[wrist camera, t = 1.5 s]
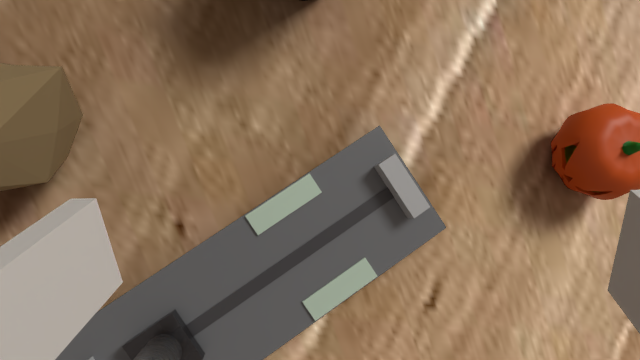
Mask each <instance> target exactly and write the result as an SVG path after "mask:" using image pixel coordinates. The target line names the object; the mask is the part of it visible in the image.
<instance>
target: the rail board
mask: <svg viewBox="0 0 640 360" xmlns="http://www.w3.org/2000/svg"><path fill="white" fill-rule="evenodd" d="M445 228H446V226H445V225H444V223H443V222H442V220H441V218H440V217H439V215H438V214H437V212H436V211H435V209H434V208H433V206H432V205H431V203H430V202H429V200H428V199H427V197H426V196H425V194H424V193H423V191H422V189H421V188H420V186H419V185H418V183H417V182H416V180H415V179H414V177H413V176H412V174H411V173H410V171H409V170H408V168H407V167H406V165H405V164H404V162H403V161H402V159H401V157H400V156H399V154H398V153H397V151H396V150H395V148H394V147H393V145H392V144H391V142H390V141H389V139H388V138H387V136H386V135H385V133H384V132H383V130H382V128H381V127H380V126H378V127H377V128H375V129H374V130H372V131H371V132H369V133H368V134H366V135H365V136H363V137H362V138H360V139H359V140H357V141H355V142H354V143H352V144H351V145H349V146H348V147H346V148H345V149H343V150H342V151H340V152H339V153H337V154H336V155H334V156H333V157H331V158H330V159H328V160H327V161H325V162H324V163H322V164H321V165H319V166H318V167H316V168H315V169H313V170H312V171H310V172H309V173H307V174H306V175H304V176H302V177H301V178H299V179H298V180H296V181H295V182H293V183H292V184H290V185H289V186H287V187H286V188H284V189H283V190H281V191H280V192H278V193H277V194H275V195H274V196H272V197H271V198H269V199H268V200H266V201H265V202H263V203H262V204H260V205H259V206H257V207H256V208H254V209H253V210H251V211H250V212H248V213H246V214H245V215H243V216H242V217H240V218H239V219H237V220H236V221H234V222H233V223H231V224H230V225H228V226H227V227H225V228H224V229H222V230H221V231H219V232H218V233H216V234H215V235H213V236H212V237H210V238H209V239H207V240H206V241H204V242H203V243H201V244H200V245H198V246H197V247H195V248H193V249H192V250H190V251H189V252H187V253H186V254H184V255H183V256H181V257H180V258H178V259H177V260H175V261H174V262H172V263H171V264H169V265H168V266H166V267H165V268H163V269H162V270H160V271H159V272H157V273H156V274H154V275H153V276H151V277H150V278H148V279H147V280H145V281H144V282H142V283H140V284H139V285H137V286H136V287H134V288H133V289H131V290H130V291H128V292H127V293H125V294H124V295H122V296H121V297H119V298H118V299H116V300H115V301H113V302H112V303H110V304H109V305H107V306H106V307H104V308H103V309H101V310H100V311H98V312H97V313H95V315H94V316H93V317H92V318H91V319H90V320H89V321H88V323H87V324H86V325H85V326H84V327H83V328H82V329H81V331H80V332H79V333H78V334H77V335H76V336H75V337H74V339H73V340H72V341H71V342H70V343H69V344H68V345H67V347H66V348H65V349H64V350H63V351H62V352H61V353H60V355H59V356H58V357H57V358H56V359H55V360H131V359H130V357H129V356H128V355H127V353H126V352H125V350H124V349H123V347H122V346H123V345H124V344H125V343H126V342H127V341H129V340H130V339H132V338H133V337H135V336H136V335H138V334H139V333H141V332H142V331H144V330H145V329H146V328H148V327H149V326H151V325H152V324H154V323H155V322H157V321H158V320H160V319H161V318H163V317H164V316H166V315H167V314H169V313H170V312H172V311H173V310H174V309H176V311H177V312H178V314H179V315H180V317H181V318H182V320H183V321H184V323H185V324H186V326H187V327H188V329H189V330H190V332H191V333H192V335H193V336H194V338H195V339H196V341H197V342H198V343H199V345H200V346H201V348H202V349H203V351H204V352H205V355H204V358H203V359H202V360H263V359H264V358H266V357H267V356H268V355H270V354H271V353H273V352H274V351H275V350H277V349H278V348H280V347H281V346H282V345H284V344H285V343H286V342H288V341H289V340H291V339H292V338H293V337H295V336H296V335H298V334H299V333H300V332H302V331H303V330H305V329H306V328H307V327H309V326H310V325H311V324H313V323H314V322H316V321H317V320H318V319H320V318H321V317H323V316H324V315H325V314H327V313H328V312H330V311H331V310H332V309H334V308H335V307H337V306H338V305H339V304H341V303H342V302H343V301H345V300H346V299H348V298H349V297H350V296H352V295H353V294H355V293H356V292H357V291H359V290H360V289H362V288H363V287H364V286H366V285H367V284H369V283H370V282H371V281H373V280H374V279H375V278H377V277H378V276H380V275H381V274H382V273H384V272H385V271H387V270H388V269H389V268H391V267H392V266H394V265H395V264H396V263H398V262H399V261H400V260H402V259H403V258H405V257H406V256H407V255H409V254H410V253H412V252H413V251H414V250H416V249H417V248H419V247H420V246H421V245H423V244H424V243H426V242H427V241H428V240H430V239H431V238H432V237H434V236H435V235H437V234H438V233H439V232H441V231H442V230H444V229H445Z"/></svg>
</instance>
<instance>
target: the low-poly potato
mask: <svg viewBox="0 0 640 360" xmlns="http://www.w3.org/2000/svg"><path fill="white" fill-rule="evenodd" d="M82 116H83V114H82V111H81V109H80V107H79V105H78V102H77V100H76V98H75V95H74V93H73V91H72V88H71V86H70V84H69V81H68V79H67V77H66V74H65V72H64V70H63V67H62V66H23V65H10V64H3V63H0V191H5V190H10V189H15V188H20V187H26V186H31V185H36V184H41V183H46V182H48V181H49V180H50V179H51V178H52V176H53V175H54V174H55V172H56V171H57V170H58V168H59V167H60V166H61V165H62V163H63V162H64V161H65V159H66V158H67V157H68V154H69V151H70V149H71V146H72V143H73V140H74V138H75V135H76V132H77V130H78V127H79V124H80V121H81V119H82Z"/></svg>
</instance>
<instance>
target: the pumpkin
mask: <svg viewBox="0 0 640 360" xmlns="http://www.w3.org/2000/svg"><path fill="white" fill-rule="evenodd" d="M551 148H552V167H553V168H554V169H555V171H556V172H557V173H558V174H559V176H560V177H561V179H562V180H563V182H564V184H565V185H566V187H567V188H569V189H571V190H574V191H577V192H581V193H584V194H586V195H589V196H591V197H594V198H597V199H602V200H608V199H614V198H617V197H619V196H622V195H624V194H626V193H629V192H630V190H638V189H640V113H637V112H633V111H630V110H627V109H625V108H623V107H621V106H618V105H616V104H603V105H600V106H597V107H594V108H591V109H588V110H585V111H582V112H579V113H576V114H573V115H571V116H570V117H568V118H567V119H566V120H565V121H564V123H563V125H562V127H561V129H560V130H559V132H558V133H557V135H556V136H555V138H554V139H553V140H552V142H551Z"/></svg>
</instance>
